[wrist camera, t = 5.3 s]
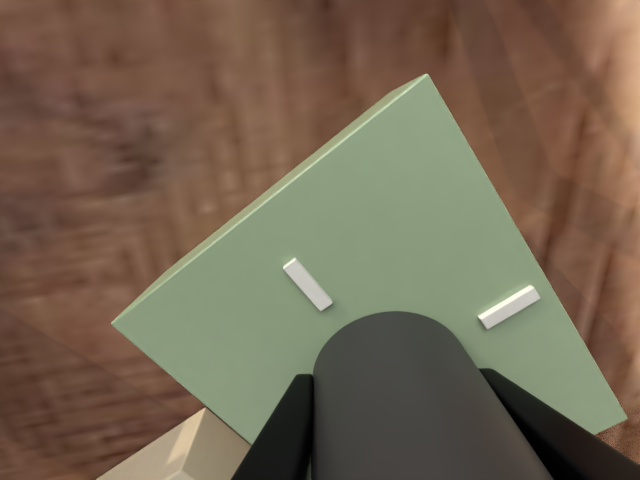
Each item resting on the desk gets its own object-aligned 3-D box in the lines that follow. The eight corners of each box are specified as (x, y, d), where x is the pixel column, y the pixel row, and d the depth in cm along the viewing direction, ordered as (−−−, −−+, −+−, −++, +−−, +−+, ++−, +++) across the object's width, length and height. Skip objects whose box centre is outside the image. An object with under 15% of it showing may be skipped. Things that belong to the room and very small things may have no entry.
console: (165, 271, 10) (104, 328, 7) (391, 90, 9) (431, 70, 6) (356, 457, 13) (367, 550, 10) (553, 349, 12) (634, 424, 9)
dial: (393, 454, 9) (457, 715, 5) (281, 388, 8) (248, 638, 4) (498, 365, 8) (684, 602, 4) (383, 279, 7) (469, 470, 3)
